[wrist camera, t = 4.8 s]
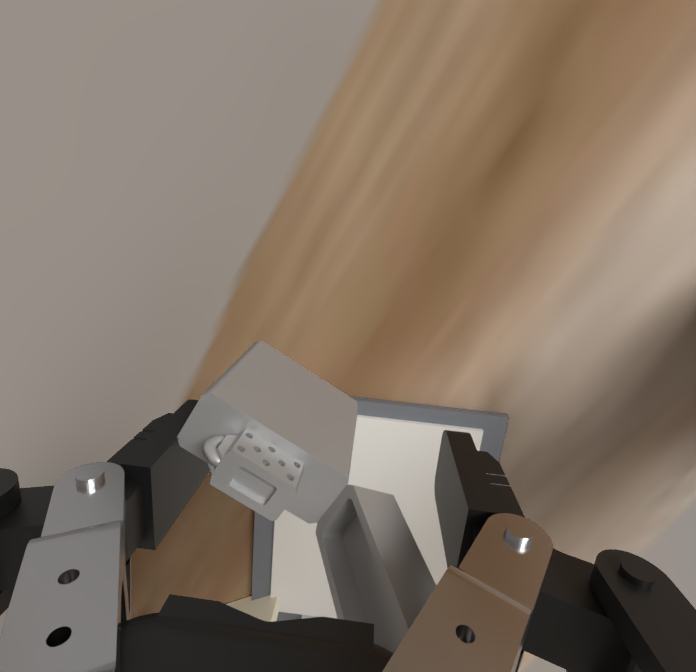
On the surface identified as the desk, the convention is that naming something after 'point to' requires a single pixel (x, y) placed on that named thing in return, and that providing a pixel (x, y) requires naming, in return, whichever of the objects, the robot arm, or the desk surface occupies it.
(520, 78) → the desk surface
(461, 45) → the desk surface
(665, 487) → the desk surface
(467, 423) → the clipboard
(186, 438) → the lighter
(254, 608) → the cream rectangular slab
